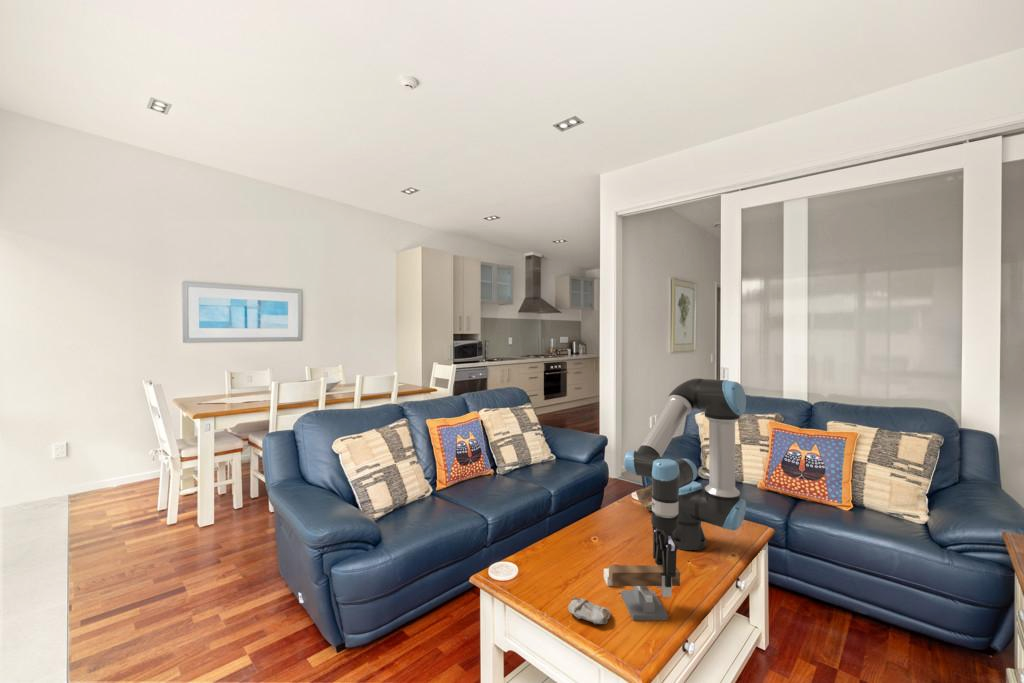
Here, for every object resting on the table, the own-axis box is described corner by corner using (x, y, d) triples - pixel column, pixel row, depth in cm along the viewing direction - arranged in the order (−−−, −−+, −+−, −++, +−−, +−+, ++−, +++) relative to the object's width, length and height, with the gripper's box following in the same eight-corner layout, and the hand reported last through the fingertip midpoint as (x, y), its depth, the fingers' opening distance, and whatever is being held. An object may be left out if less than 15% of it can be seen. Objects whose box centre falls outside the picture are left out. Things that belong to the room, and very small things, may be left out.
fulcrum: (652, 594, 136) (653, 575, 136) (667, 620, 124) (668, 599, 124) (621, 595, 135) (621, 576, 135) (633, 620, 123) (633, 599, 123)
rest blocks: (634, 577, 146) (635, 568, 146) (639, 585, 141) (639, 576, 141) (603, 577, 145) (603, 568, 145) (607, 586, 140) (607, 576, 140)
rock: (662, 506, 207) (662, 485, 206) (665, 517, 194) (665, 494, 194) (635, 504, 209) (635, 483, 209) (636, 514, 197) (636, 492, 197)
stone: (562, 618, 125) (562, 606, 125) (574, 601, 133) (575, 590, 133) (603, 632, 119) (603, 620, 119) (613, 614, 127) (613, 602, 127)
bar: (674, 578, 132) (674, 565, 132) (680, 585, 128) (680, 572, 128) (608, 578, 131) (608, 565, 131) (612, 586, 127) (612, 572, 127)
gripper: (642, 502, 138) (641, 575, 138) (663, 525, 121) (661, 609, 121) (666, 502, 138) (664, 575, 138) (689, 525, 121) (688, 609, 121)
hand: (663, 591), depth 130 cm, fingers closed on bar, 4 cm apart
